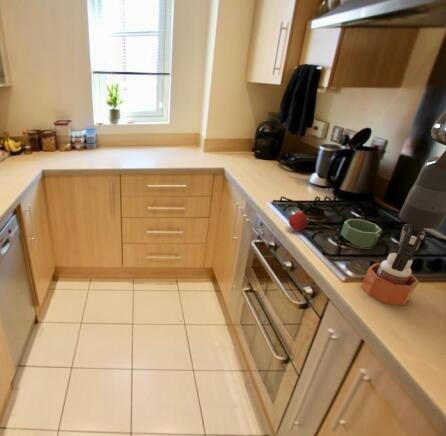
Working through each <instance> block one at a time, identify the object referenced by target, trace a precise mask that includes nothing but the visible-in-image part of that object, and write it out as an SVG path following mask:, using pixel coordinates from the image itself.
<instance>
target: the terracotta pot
mask: <svg viewBox="0 0 446 436" xmlns="http://www.w3.org/2000/svg"><path fill="white" fill-rule="evenodd" d="M380 265H381V263H380V262H375V263H374V264H372V265H371V266H369V267H368V269H367V271H366V274H365V276H364V279H363V280H362V283H361V287H362V288H363V290H364V291H365V293H366V294H367V295H368V296H369V297H372V298H374V299H376V301H377V300H378V301H379V302H381V303H384V304H386V305H396V306H404V305H405V304H407V303H408V301H410V299H411V297H412V295H413V293H414V291H415V289H416V287H417V286H418V284H419V281H420V280H418V279H417V278H416V277H415V276H414V274H412V273H411V275H410V277H409V279H408V281H407V283H406V285H399V284H393V283H391V282H389V281H386V280H384V279H382V278H380V277H378V276H377V275H376V274H377V271H378V269H379V267H380Z"/></svg>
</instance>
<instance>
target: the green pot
mask: <svg viewBox="0 0 446 436" xmlns="http://www.w3.org/2000/svg"><path fill="white" fill-rule="evenodd" d="M382 231H383V229H382V228H380V226H378V225H377V224H376V223H373V222H371V221H368V220H365V219H359V218H349V219H346V221H345V220H344V223H343V224H342V228H341V231H340V234H341V235H342V236H343V237H344V238H345V239H346V240H348V241H350V242H351V243H352V244H354V245H356V246H360V247H356V246H354V245H351V244H349V243H344V244H345V245H348V246H350V247H352V248H355V249H360V250H361V249H363V250H371V249H373V248H374V247H376V245H377V242H378V241H379V238H380V236H381V234H382ZM340 234H339V235H340ZM375 244H376V245H375ZM373 245H374V246H373ZM372 246H373V247H372ZM364 247H371V248H364Z"/></svg>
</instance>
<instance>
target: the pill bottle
mask: <svg viewBox="0 0 446 436" xmlns="http://www.w3.org/2000/svg"><path fill="white" fill-rule="evenodd" d="M396 256H397V253H395V252H391V253H389V254H388V255H387V258H386V259H385V260H383V261H381V263H380V264H381V265H380V267H379V269H378V271H377V274H376V275H377V276H378V277H380V278H382V279H384V280H386V281H389V282H391V283H393V284H399V285H406V283H407V281H408V279H409V277H410V275H411V274H412V269H411V266H412V264H413V259H412V260H410V261H409V260H408V262H407V264H406V266H405V268H404V270H403V271H397V270H394V269H392V264H393V262H394V260H395V258H396Z"/></svg>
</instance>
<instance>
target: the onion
mask: <svg viewBox="0 0 446 436" xmlns="http://www.w3.org/2000/svg"><path fill="white" fill-rule="evenodd" d="M308 223H309V219H308V217H307V215H306V214H305V213H304V212H303V211H302V210H299V211H298V212H295V213H293V214H292V215H290V217H289V218H288V224H289V226H290V228H291V229H292V230H293V231H294V232H299V231H302V230H304V229H306V227H307V226H308Z"/></svg>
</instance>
